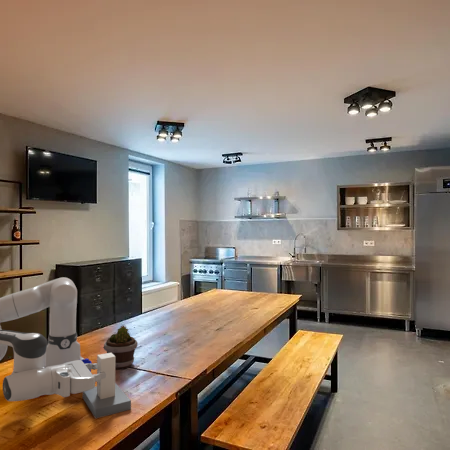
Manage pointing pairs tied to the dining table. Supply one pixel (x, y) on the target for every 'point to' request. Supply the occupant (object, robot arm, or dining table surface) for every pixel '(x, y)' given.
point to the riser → (106, 402)
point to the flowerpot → (121, 348)
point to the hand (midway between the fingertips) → (101, 370)
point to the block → (106, 384)
